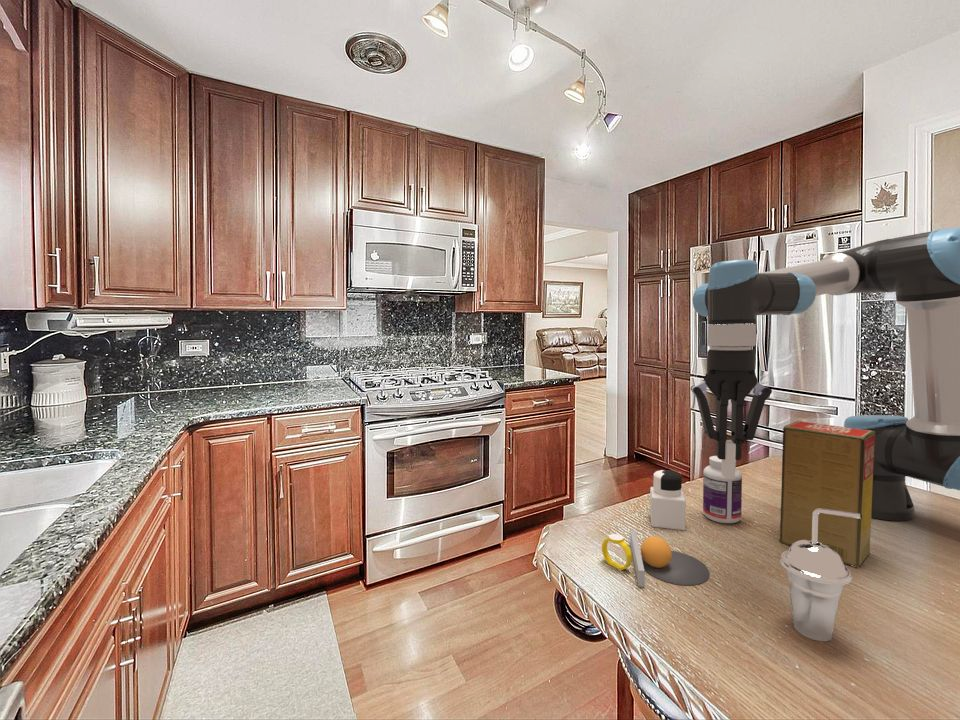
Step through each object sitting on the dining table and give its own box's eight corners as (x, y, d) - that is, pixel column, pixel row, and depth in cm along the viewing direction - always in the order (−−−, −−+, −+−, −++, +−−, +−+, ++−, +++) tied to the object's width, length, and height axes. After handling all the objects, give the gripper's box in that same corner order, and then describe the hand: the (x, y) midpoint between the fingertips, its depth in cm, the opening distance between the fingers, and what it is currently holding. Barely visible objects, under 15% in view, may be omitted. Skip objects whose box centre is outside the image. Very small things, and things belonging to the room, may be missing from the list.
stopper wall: (635, 543, 92) (635, 529, 92) (644, 587, 77) (644, 571, 77) (630, 543, 93) (630, 529, 92) (638, 586, 77) (638, 570, 77)
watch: (600, 564, 85) (598, 534, 85) (608, 559, 87) (606, 529, 87) (626, 575, 81) (624, 543, 80) (635, 569, 82) (633, 538, 82)
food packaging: (871, 552, 87) (877, 429, 85) (859, 569, 81) (865, 438, 79) (793, 529, 97) (796, 419, 95) (777, 542, 92) (780, 426, 90)
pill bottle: (731, 511, 107) (732, 454, 106) (748, 525, 99) (749, 464, 98) (697, 510, 108) (698, 453, 107) (711, 525, 100) (712, 464, 99)
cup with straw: (812, 609, 70) (817, 489, 68) (869, 650, 61) (875, 513, 59) (764, 615, 69) (768, 492, 67) (815, 657, 60) (820, 518, 58)
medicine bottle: (681, 517, 104) (682, 469, 103) (685, 531, 97) (686, 479, 96) (650, 514, 106) (650, 466, 106) (651, 527, 100) (651, 476, 99)
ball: (652, 563, 86) (675, 548, 85) (656, 579, 81) (680, 563, 80) (633, 541, 87) (656, 526, 86) (636, 555, 82) (660, 539, 80)
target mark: (700, 554, 87) (700, 553, 87) (717, 589, 76) (717, 588, 76) (637, 548, 90) (637, 547, 90) (644, 581, 79) (644, 580, 79)
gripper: (763, 347, 80) (760, 471, 82) (686, 347, 83) (685, 467, 85) (781, 349, 73) (776, 486, 74) (696, 349, 76) (694, 481, 77)
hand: (728, 476), depth 79 cm, fingers closed
